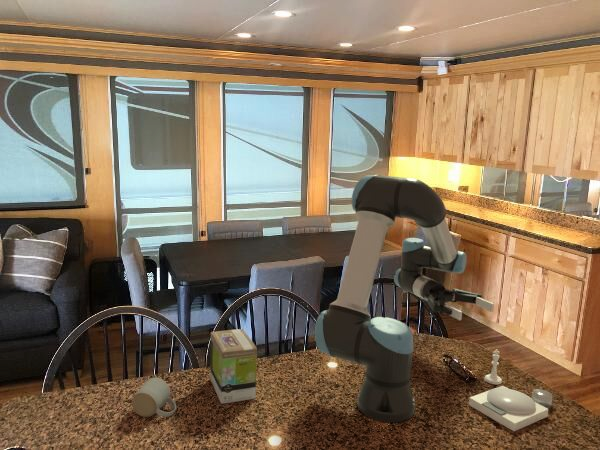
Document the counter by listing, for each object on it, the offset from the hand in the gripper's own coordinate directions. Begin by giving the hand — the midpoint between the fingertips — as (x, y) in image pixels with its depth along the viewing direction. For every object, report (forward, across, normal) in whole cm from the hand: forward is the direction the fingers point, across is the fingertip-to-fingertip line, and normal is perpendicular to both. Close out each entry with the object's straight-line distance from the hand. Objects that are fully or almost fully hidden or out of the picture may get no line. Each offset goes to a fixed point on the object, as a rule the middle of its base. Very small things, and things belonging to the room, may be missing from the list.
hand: (477, 311), depth 153 cm
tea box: (-19, +73, -16) cm, 77 cm away
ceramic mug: (-17, +94, -15) cm, 97 cm away
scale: (+22, +10, -18) cm, 30 cm away
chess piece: (+8, 0, -19) cm, 21 cm away
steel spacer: (+23, -2, -19) cm, 30 cm away
